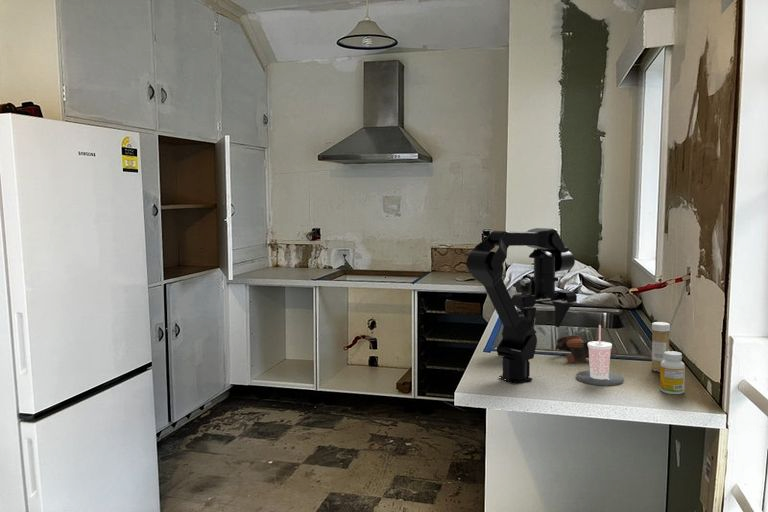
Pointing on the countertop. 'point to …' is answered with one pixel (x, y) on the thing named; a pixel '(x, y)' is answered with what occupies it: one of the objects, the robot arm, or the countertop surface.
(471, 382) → the countertop surface
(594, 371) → the beverage cup
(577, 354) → the pottery mug
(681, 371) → the supplement bottle
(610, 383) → the coaster
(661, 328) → the sprinkles bottle
